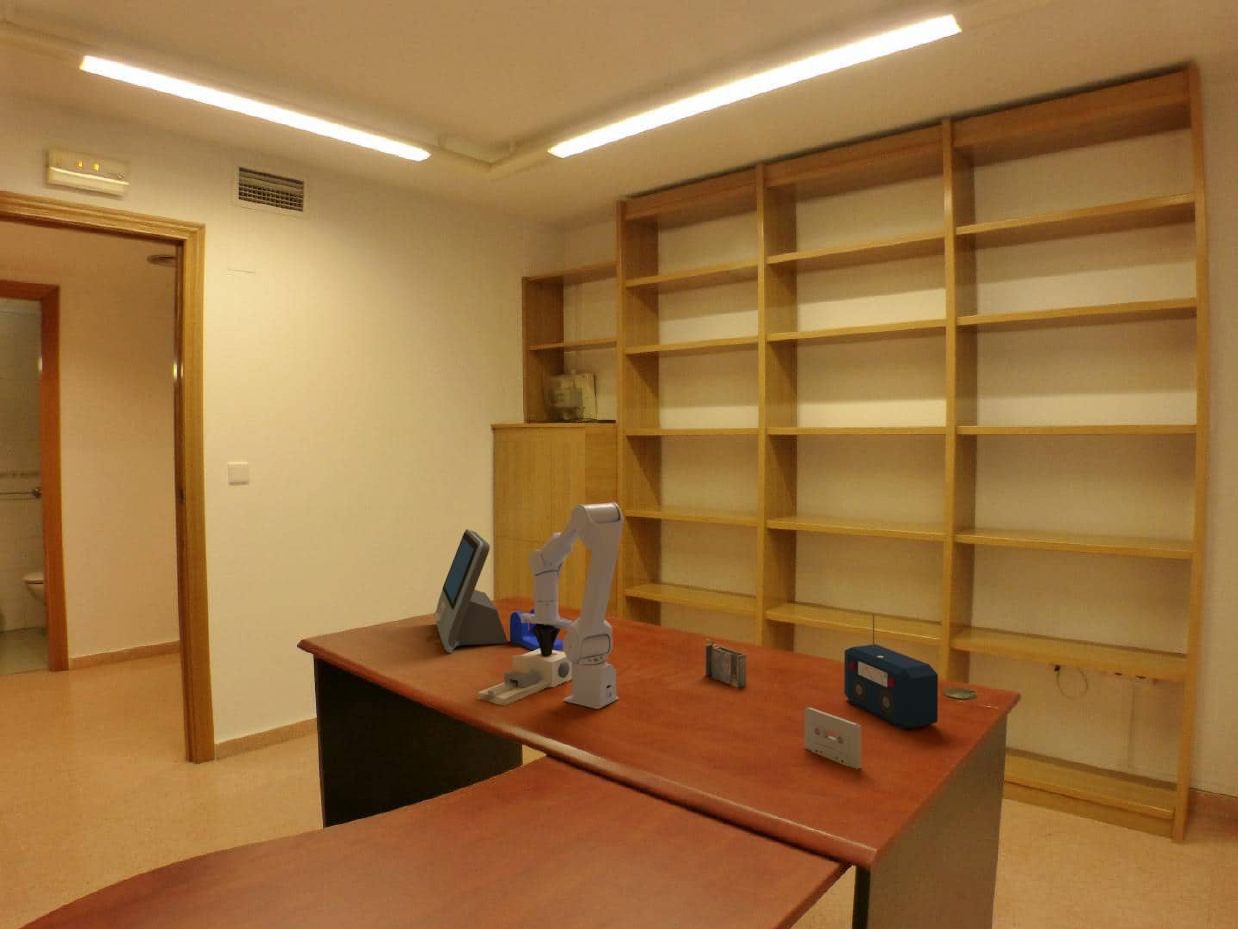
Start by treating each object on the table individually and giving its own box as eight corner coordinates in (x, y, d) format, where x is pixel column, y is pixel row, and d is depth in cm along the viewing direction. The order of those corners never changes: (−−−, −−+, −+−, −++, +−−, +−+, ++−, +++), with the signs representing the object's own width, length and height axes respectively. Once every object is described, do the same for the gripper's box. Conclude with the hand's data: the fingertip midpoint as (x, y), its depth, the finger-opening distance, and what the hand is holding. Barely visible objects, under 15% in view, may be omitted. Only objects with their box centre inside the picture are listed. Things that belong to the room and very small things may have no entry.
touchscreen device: (429, 624, 241) (431, 528, 241) (492, 621, 247) (494, 527, 246) (439, 655, 208) (441, 543, 207) (511, 650, 214) (514, 542, 213)
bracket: (510, 641, 222) (509, 610, 222) (535, 636, 227) (534, 606, 226) (542, 655, 207) (542, 622, 207) (568, 650, 212) (568, 617, 212)
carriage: (538, 682, 179) (538, 656, 179) (524, 687, 175) (523, 661, 175) (519, 677, 183) (518, 652, 183) (504, 683, 179) (504, 657, 178)
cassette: (802, 748, 145) (802, 707, 145) (808, 746, 146) (809, 705, 146) (856, 770, 135) (856, 727, 135) (863, 767, 136) (863, 724, 136)
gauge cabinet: (575, 679, 187) (574, 654, 186) (553, 688, 180) (553, 662, 180) (541, 671, 193) (541, 647, 192) (520, 680, 186) (519, 655, 186)
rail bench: (549, 687, 181) (549, 680, 181) (504, 705, 169) (504, 699, 169) (523, 681, 186) (523, 674, 185) (478, 699, 173) (477, 692, 173)
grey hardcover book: (704, 677, 189) (704, 637, 188) (713, 675, 190) (713, 635, 190) (736, 689, 179) (736, 648, 179) (746, 687, 181) (746, 646, 181)
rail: (538, 678, 183) (538, 674, 183) (493, 696, 170) (493, 691, 170) (533, 677, 184) (533, 673, 184) (488, 695, 171) (488, 690, 171)
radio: (839, 700, 171) (839, 610, 170) (871, 695, 174) (872, 606, 173) (905, 734, 151) (906, 632, 150) (941, 728, 154) (941, 628, 153)
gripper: (580, 600, 185) (580, 656, 185) (534, 593, 193) (534, 647, 194) (561, 605, 179) (562, 663, 180) (514, 598, 187) (515, 654, 188)
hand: (546, 655), depth 186 cm, fingers closed, pressing on reset button
